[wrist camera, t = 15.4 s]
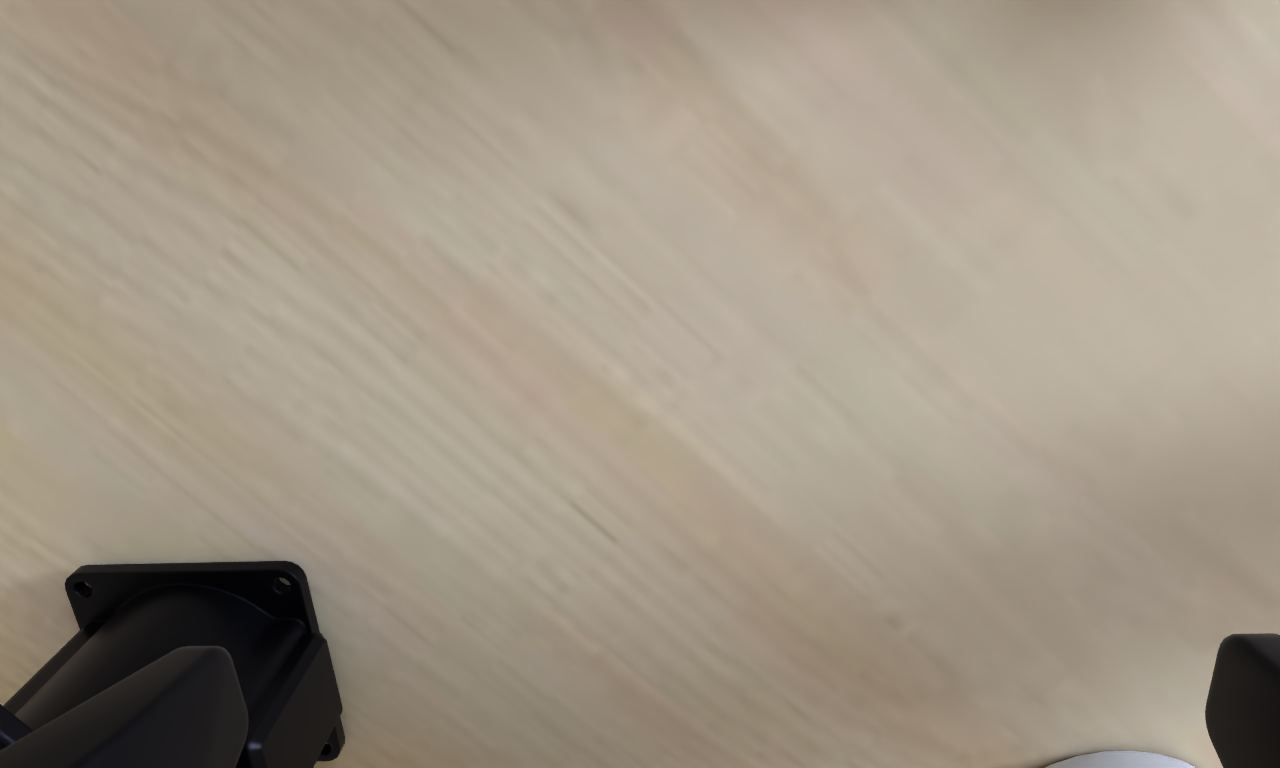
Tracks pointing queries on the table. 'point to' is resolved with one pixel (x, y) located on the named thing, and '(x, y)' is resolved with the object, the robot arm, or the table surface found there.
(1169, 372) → the table surface
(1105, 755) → the milk bottle
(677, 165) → the table surface
